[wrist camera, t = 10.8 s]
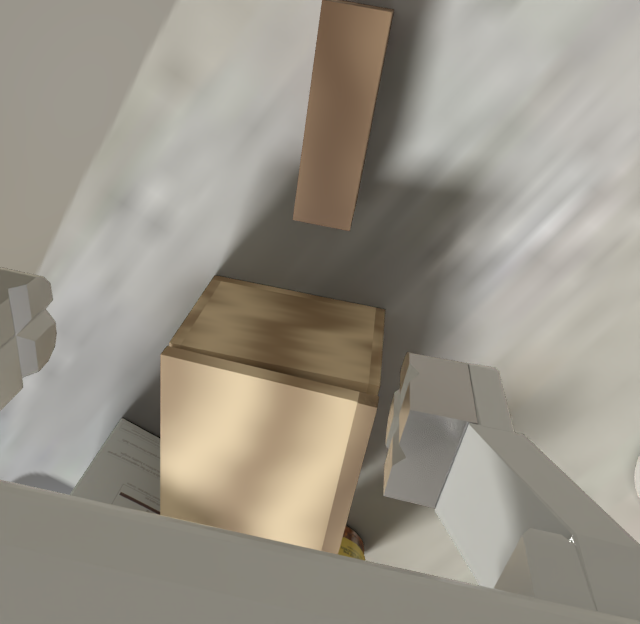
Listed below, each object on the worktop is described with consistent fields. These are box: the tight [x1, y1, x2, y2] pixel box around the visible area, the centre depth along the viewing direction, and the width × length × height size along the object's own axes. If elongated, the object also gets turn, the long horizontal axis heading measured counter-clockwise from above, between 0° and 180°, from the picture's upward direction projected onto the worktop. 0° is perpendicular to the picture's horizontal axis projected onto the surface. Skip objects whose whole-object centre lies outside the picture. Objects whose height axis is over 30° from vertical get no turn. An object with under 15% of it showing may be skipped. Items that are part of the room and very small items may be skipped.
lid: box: [160, 346, 379, 554], centre depth 32 cm, size 11×17×1 cm
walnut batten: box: [293, 0, 394, 231], centre depth 28 cm, size 3×10×4 cm, turn 171°
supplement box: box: [70, 418, 160, 515], centre depth 39 cm, size 10×9×17 cm
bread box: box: [169, 275, 385, 396], centre depth 36 cm, size 11×17×8 cm
